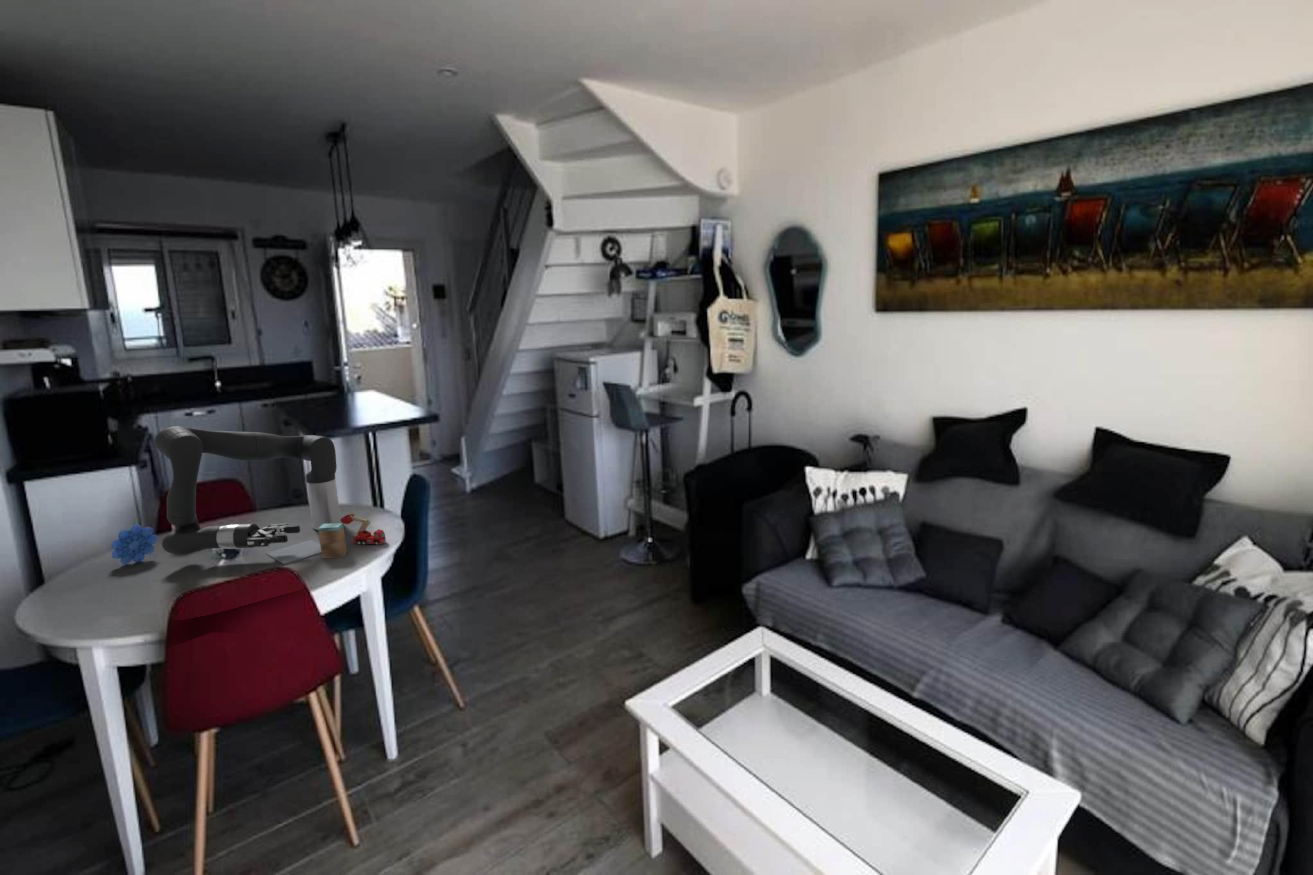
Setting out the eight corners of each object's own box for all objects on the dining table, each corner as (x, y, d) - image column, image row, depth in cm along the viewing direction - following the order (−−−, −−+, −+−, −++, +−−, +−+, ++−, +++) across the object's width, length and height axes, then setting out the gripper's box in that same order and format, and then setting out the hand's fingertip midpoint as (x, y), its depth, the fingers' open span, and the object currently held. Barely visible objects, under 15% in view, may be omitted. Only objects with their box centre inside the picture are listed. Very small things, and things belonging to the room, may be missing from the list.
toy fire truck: (382, 545, 206) (379, 517, 204) (343, 544, 208) (339, 517, 206) (387, 541, 209) (384, 514, 207) (349, 540, 211) (345, 513, 209)
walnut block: (322, 558, 196) (318, 528, 194) (327, 553, 200) (323, 523, 198) (342, 557, 197) (338, 527, 195) (346, 552, 201) (343, 522, 199)
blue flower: (160, 553, 203) (153, 518, 200) (162, 559, 198) (155, 523, 195) (113, 563, 195) (106, 527, 193) (114, 569, 190) (106, 532, 188)
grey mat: (266, 554, 200) (266, 552, 200) (311, 540, 211) (311, 539, 211) (284, 564, 192) (283, 563, 192) (330, 550, 203) (330, 549, 202)
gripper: (223, 532, 186) (281, 530, 188) (248, 517, 200) (302, 515, 202) (227, 556, 188) (284, 553, 189) (252, 539, 202) (304, 537, 203)
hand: (293, 533), depth 196 cm, fingers open, 8 cm apart
